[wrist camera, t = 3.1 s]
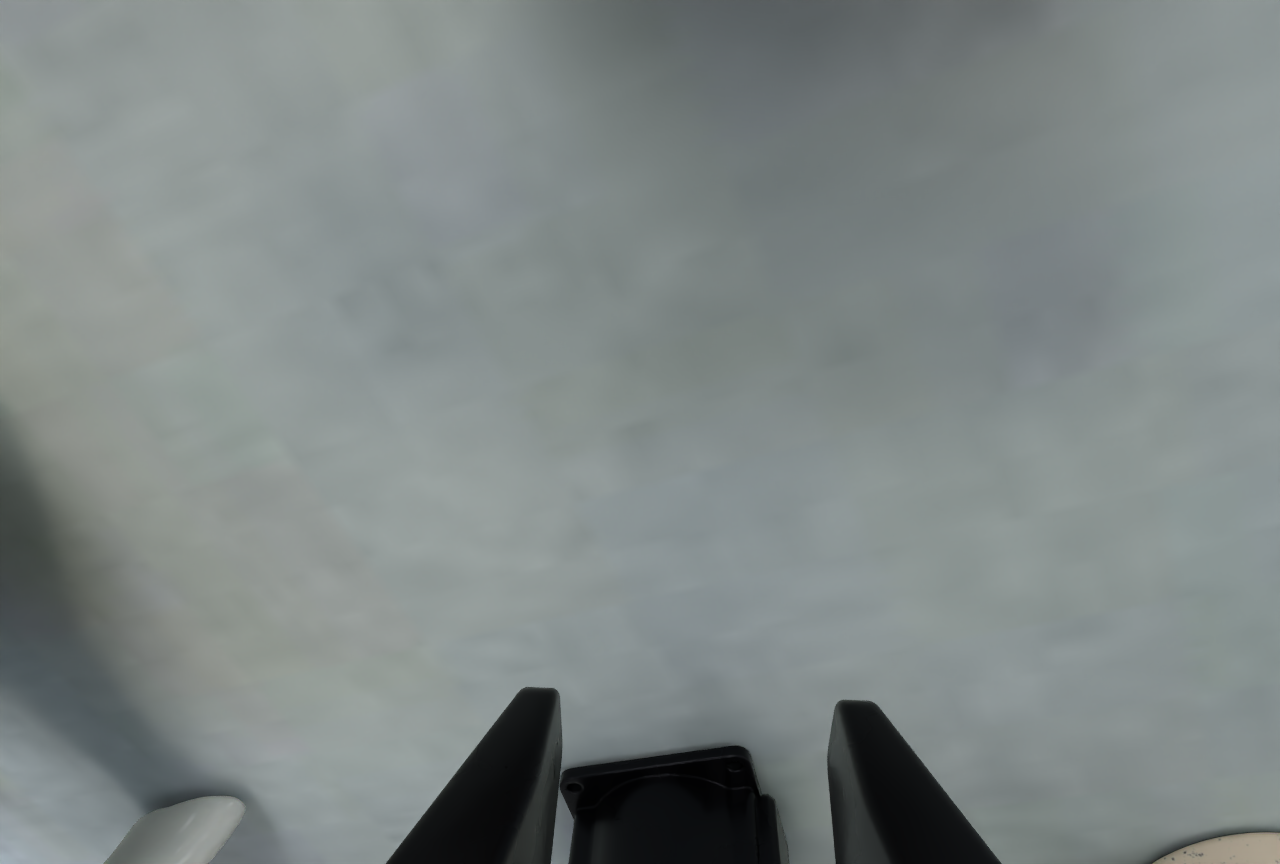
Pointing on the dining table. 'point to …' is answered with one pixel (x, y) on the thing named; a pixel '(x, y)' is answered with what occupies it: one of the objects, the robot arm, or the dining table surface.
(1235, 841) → the teacup with lid
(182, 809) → the spoon rest
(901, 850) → the robot arm
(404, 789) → the dining table surface
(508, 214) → the dining table surface
